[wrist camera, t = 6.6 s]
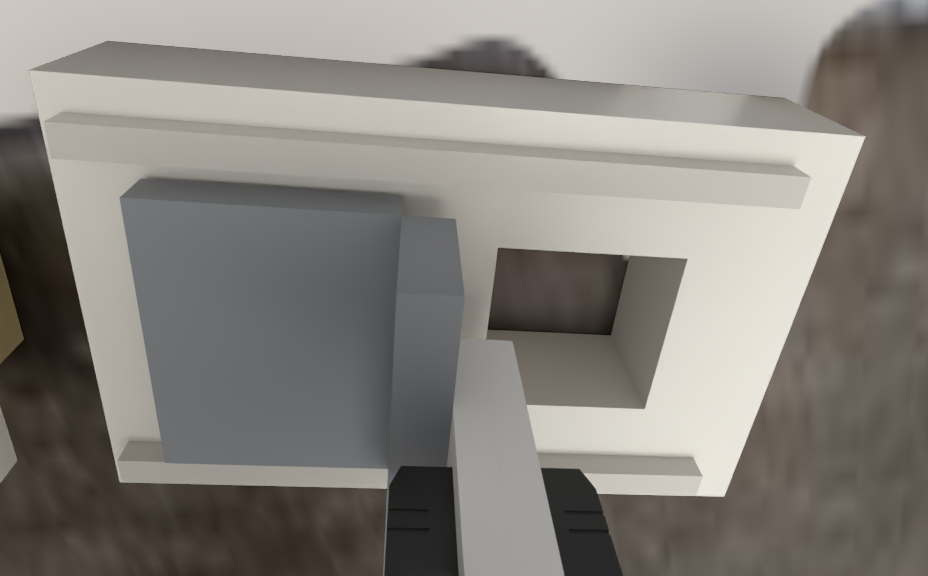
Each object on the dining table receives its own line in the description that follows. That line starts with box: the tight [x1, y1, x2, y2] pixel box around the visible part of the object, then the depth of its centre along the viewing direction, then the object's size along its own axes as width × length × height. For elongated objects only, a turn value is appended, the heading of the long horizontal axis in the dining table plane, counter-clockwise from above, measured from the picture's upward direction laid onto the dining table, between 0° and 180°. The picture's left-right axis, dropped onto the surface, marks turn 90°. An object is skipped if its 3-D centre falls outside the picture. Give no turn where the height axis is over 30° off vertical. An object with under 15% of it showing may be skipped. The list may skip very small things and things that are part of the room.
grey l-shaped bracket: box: [119, 179, 465, 576], centre depth 15 cm, size 7×8×5 cm
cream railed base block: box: [29, 41, 865, 497], centre depth 19 cm, size 19×12×5 cm, turn 85°
